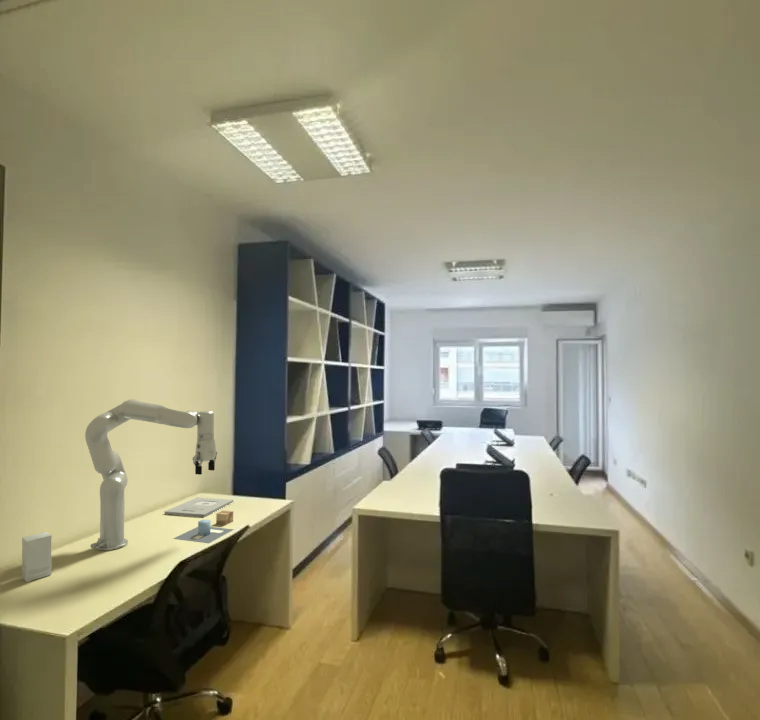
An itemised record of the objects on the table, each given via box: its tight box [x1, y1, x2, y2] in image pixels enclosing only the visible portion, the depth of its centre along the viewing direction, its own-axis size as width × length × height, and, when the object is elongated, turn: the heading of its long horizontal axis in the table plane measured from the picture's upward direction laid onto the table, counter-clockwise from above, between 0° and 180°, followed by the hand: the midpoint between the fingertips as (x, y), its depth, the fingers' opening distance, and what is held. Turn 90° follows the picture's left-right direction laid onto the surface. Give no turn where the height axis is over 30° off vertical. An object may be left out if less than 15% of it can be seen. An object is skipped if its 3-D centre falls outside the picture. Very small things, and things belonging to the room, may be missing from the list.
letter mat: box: [172, 526, 235, 544], centre depth 228 cm, size 20×20×1 cm
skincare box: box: [21, 531, 52, 583], centre depth 182 cm, size 8×7×16 cm
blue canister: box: [197, 519, 212, 536], centre depth 228 cm, size 6×6×6 cm
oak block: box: [215, 509, 234, 526], centre depth 245 cm, size 6×6×6 cm
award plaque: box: [164, 497, 234, 518], centre depth 273 cm, size 25×30×2 cm
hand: (205, 472), depth 229 cm, fingers open, 9 cm apart
